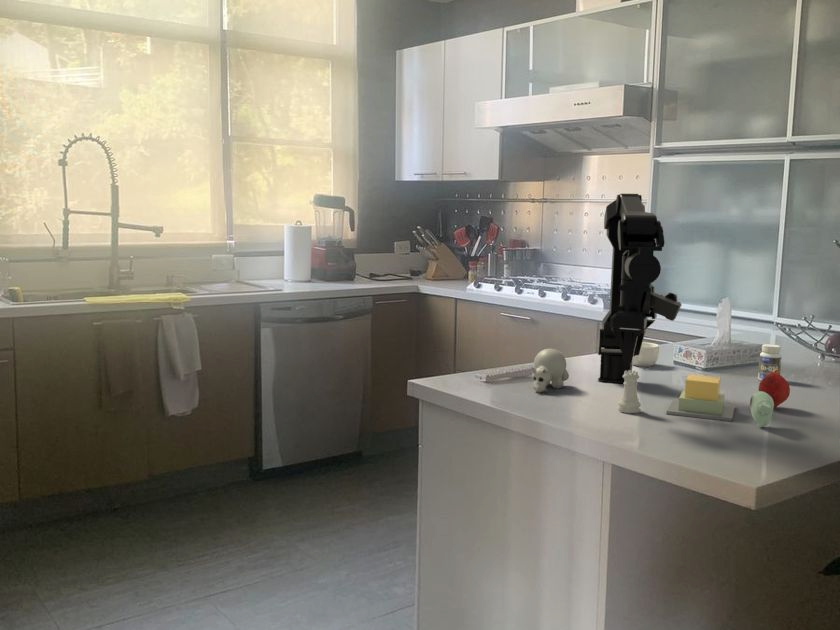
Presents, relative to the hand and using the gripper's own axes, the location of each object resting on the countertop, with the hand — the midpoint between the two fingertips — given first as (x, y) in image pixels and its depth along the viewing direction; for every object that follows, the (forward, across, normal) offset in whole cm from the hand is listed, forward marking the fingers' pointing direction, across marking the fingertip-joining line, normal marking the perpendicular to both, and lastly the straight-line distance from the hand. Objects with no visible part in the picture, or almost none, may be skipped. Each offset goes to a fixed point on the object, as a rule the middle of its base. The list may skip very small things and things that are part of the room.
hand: (632, 358), depth 158 cm
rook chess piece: (+11, 0, 0) cm, 11 cm away
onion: (+11, +16, -26) cm, 32 cm away
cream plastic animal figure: (+11, +12, +20) cm, 26 cm away
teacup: (+11, +49, +5) cm, 50 cm away
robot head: (+11, -1, -24) cm, 26 cm away
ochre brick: (+8, +7, -13) cm, 16 cm away
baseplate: (+10, +7, -13) cm, 18 cm away
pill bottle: (+11, +45, -25) cm, 52 cm away
